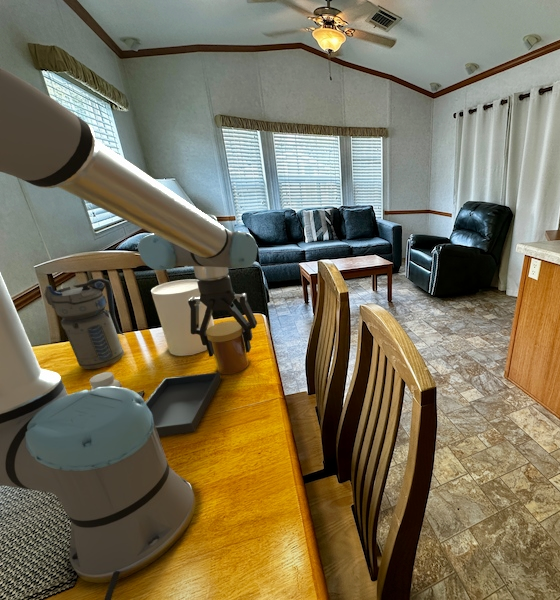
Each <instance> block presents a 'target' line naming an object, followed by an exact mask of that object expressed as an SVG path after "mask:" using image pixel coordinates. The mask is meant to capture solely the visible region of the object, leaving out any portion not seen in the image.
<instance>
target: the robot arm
mask: <svg viewBox="0 0 560 600" xmlns="http://www.w3.org/2000/svg"><path fill="white" fill-rule="evenodd" d="M0 173H3V174H7V175H9V176H12V177H15V178H18V179H20V180H22V181H24V182H26V183H29V184H31V185H33V186H35V187H38V188H41V189H55V188H59V189H61V190H63V191H65V192H67V193H69V194H70V195H73V196H75V197H77V198H79V199H81V200H83V201H85V202H88V203H89V204H91V205H93V206H96V207H98V208H99V209H102V210H103V211H106V212H108V213H110V214H112V215H113V216H116V217H118V218H120V219H122V220H124V221H127V222H128V223H131V224H133V225H135V226H136V227H138V228H142V229H143V230H144V231H146V232H149V233H151V234H148V235H145V236H143V237H142V238H141V239H139V242H138V244H137V251H138V254H139V257H140V259H141V261H142V262H143V263H144V264H145V265H146V266H147V267H149V268H150V269H152V270H154V271H159V272H160V271H166V270H172V269H174V268H175V267H193V272H194V276H195V279H196V280H197V284H198V288H199V292H200V297H197V298H195V297H192V298H191V299H190V300H189V301H188V304H189V306H190V308H191V334H198V335H200V338H201V341H202V344H203V345H206V346H207V350H206V351H207V354H208V357H209V358H212V357H214V353H213V349H212V345H211V341H209V340H208V339H207V335H206V330H207V327H208V324H209V321H210V318H211V315H212V316H213V313H214V312H218V311H226V312H227V313H228V314H230V315H231V316H232V317H233V318H234V320H235V321H237V322H238V323H239V324H240V325H241V326H242V328H243V329H244V331H243V332H242V334H243V339H244V344H245V349H246V353H247V354H248V353H250V352H251V349H252V345H251V341H252V340H253V332H252V330H253V329H256V327H257V325H258V321H257V319H256V317H255V315H254V312H253V310H252V308H251V306H250V304H249V302H248V295H247V293H246V292H243V293H235V291H234V289H233V286H232V280H231V276H230V275H229V273H230V272H229V268H231V269H237V268H238V269H239V268H240V269H241V268H249V267H252V265H254V263H255V262H256V260H257V255H258V244H257V242H256V239H255V238H254V236H253V235H252V234H251V233H249V232H246V231H245V232H244V231H239V230H236V231H231V230H229V228H228V229H227V228H226V227H224V226H223V225H221V224H220V223H219V222H218V219H217V217H216V216H215V215H214V214H211V213H204V212H202V211H201V210H200V209H198V208H197V207H196V206H194V205H193V204H191V203H190V202H188V201H186V200H185V199H184V198H182V197H181V196H180V195H178V194H176V193H175V192H174V191H172V190H171V189H169V188H168V187H166V186H165V185H164V184H162V183H161V182H159V181H158V180H156V179H155V178H153V177H152V176H151V175H149V174H147V173H146V172H144V171H143V170H141V169H140V168H139V167H137V166H136V165H135V164H133V163H131V162H130V161H128V160H127V159H125V158H124V157H123V156H121V155H120V154H118V153H117V152H115V151H114V150H113V149H111V148H110V147H108V146H106V145H105V144H104V143H103V142H101V141H99V140H98V139H96V135H95V132H94V129H93V127H92V126H91V125H90V124H89V123H88V122H87V121H85V120H84V119H82V118H81V117H80V116H78V115H77V114H75V113H74V112H73V111H71V110H69V109H68V108H67V107H65V106H64V105H62V104H61V103H60V102H58V101H57V100H55V99H54V98H52V97H51V96H49V94H48V95H47V94H46V93H45V92H44V91H41V89H38V88H37V87H35V86H34V85H32V84H30V83H29V82H27V81H25V80H23V79H22V78H20V77H18V76H17V75H15V74H13V73H12V72H10V71H8V70H7V69H5V68H3V67H1V66H0ZM235 300H236V301H237V303H238V304H239V303H240V307H241V309H242V312H243V313H244V315H243V314H242V313H241V311H240V310H239V308H237V306H236V304H235V303H234V301H235ZM200 302H202V303H203V304H204V305H205V306H207V308H206V311H205V315H204V319H203V322H202V325H201V328H199V304H200ZM145 402H146V400H144V398H143V397H142V396H141V395H140V393H138V392H136V391H135V390H132V389H130V388H127V387H123V386H122V387H113V386H109V387H97V388H95V389H94V390H92V391H90V390H88V389H82V390H80V391H76V392H72V393H70V394H69V393H68V392H67V389H66V386H65V384H64V383H63V380H62V378H61V375H60V374H59V373H58V372H56V371H52V370H50V369H49V370H48V369H44V368H41V366H40V364H39V361H38V359H37V356H36V354H35V351H34V349H33V346H32V345H31V342H30V340H29V337H28V335H27V333H26V330H25V327H24V325H23V322H22V321H21V319H20V316H19V313H18V311H17V308H16V307H15V304H14V302H13V299H12V297H11V295H10V292H9V290H8V287H7V285H6V282H5V280H4V278H3V276H2V273H1V272H0V486H2V487H8V488H9V487H10V488H16V489H24V490H25V489H26V490H31V491H39V492H43V493H50V494H52V495H53V496H55V498H57V499H58V501H59V503H60V505H61V507H62V508H63V510H64V512H65V513H66V515H67V516H68V519H69V521H70V523H71V524H70V538H69V539H70V542H69V562H70V565H71V566H72V568H73V569H74V572H75V574H77V576H78V577H79V578H80V579H81V580H83V581H85V582H88V583H95V584H104V583H109V584H108V587H107V590H106V593H105V596H104V599H103V600H112V598H113V594H114V592H115V589H116V586H117V583H118V580H121V579H124V578H126V577H129V576H131V575H133V574H135V573H138V572H139V571H142V570H143V569H145V568H146V567H147V566H149V565H151V564H152V563H154V562H155V561H157V560H158V559H159V558H161V557H162V556H163V555H164V554H165V553H166V552H168V551H169V550H170V549H171V548H172V547H173V546H174V545H175V544H176V543H177V542H178V541H179V540H180V538H181V537H182V535H183V534H184V533H185V532H186V530H187V528H188V527H189V525H190V523H191V521H192V520H193V517H194V515H195V512H196V511H195V510H196V505H197V501H196V495H195V492H194V490H193V487H192V485H191V484H190V483H189V482H188V481H187V480H186V479H185V478H183V477H182V476H180V475H179V474H178V473H176V472H175V470H174V469H172V468H171V466H170V465H169V462H168V460H167V459H168V458H167V456H166V454H165V451H164V448H163V446H162V442H161V438H160V437H159V436H158V433H157V430H156V427H155V424H154V420H153V415H152V413H151V411H150V410H149V408H148V407H147V405H146V403H145Z"/></svg>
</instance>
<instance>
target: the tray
mask: <svg viewBox="0 0 560 600" xmlns="http://www.w3.org/2000/svg"><path fill="white" fill-rule="evenodd" d="M221 382H222V377H221V373H220V372H217V371H216V372H208V373H199V374H198V373H197V374H190V375H189V374H188V375H180V376H171V377H169V376H168V377H164V378H163V379H162V381H161V382H160V383H159V384H158V385H157V387H156V388H155V389H154V391H153V392H152V393H151V394H150V396H149V397H148V398H147V399H146V400H145V403H146V405H147V407H148V408H149V410H150V411H151V413H152V415H153V420H154V424H155V427H156V430H157V433H158V436H159V438H160V437H167V436H174V435H181V434H191V433H195V431H196V429H197V427H198V425H199V423H200V421H201V420H202V418H203V416H204V414H205V412H206V410H207V408H208V406H209V404H210V403H211V400H212V399H213V397H214V395H215V393H216V391H217V389H218V387H219V385H220V384H221Z"/></svg>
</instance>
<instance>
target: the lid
mask: <svg viewBox="0 0 560 600" xmlns="http://www.w3.org/2000/svg"><path fill="white" fill-rule="evenodd" d="M243 331H244V329H243V328H242V326H241V325H240V324H239V323H238V322H237V321H236V320H228V321H222V322H218V323H214V325H213V326H211V327H209V328H208V329H207V330H206V335H207V339H208V340H209V341H212V342H224V341H229V340H232V339H235V338H237V337H239V336H241V335H242V332H243Z"/></svg>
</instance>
